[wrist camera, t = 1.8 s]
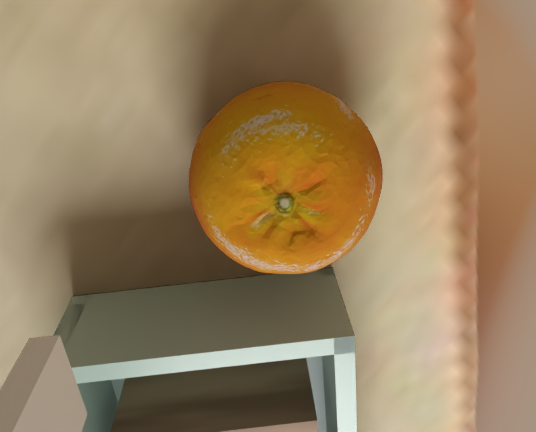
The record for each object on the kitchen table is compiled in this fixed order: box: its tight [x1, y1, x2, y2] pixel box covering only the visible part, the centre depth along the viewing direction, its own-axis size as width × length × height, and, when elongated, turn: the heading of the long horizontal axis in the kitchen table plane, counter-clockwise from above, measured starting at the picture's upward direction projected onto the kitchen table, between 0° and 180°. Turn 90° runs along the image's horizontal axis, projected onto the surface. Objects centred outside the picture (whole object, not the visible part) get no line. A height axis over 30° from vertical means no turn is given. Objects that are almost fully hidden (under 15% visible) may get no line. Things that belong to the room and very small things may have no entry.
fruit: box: [189, 81, 382, 274], centre depth 23 cm, size 8×8×8 cm
